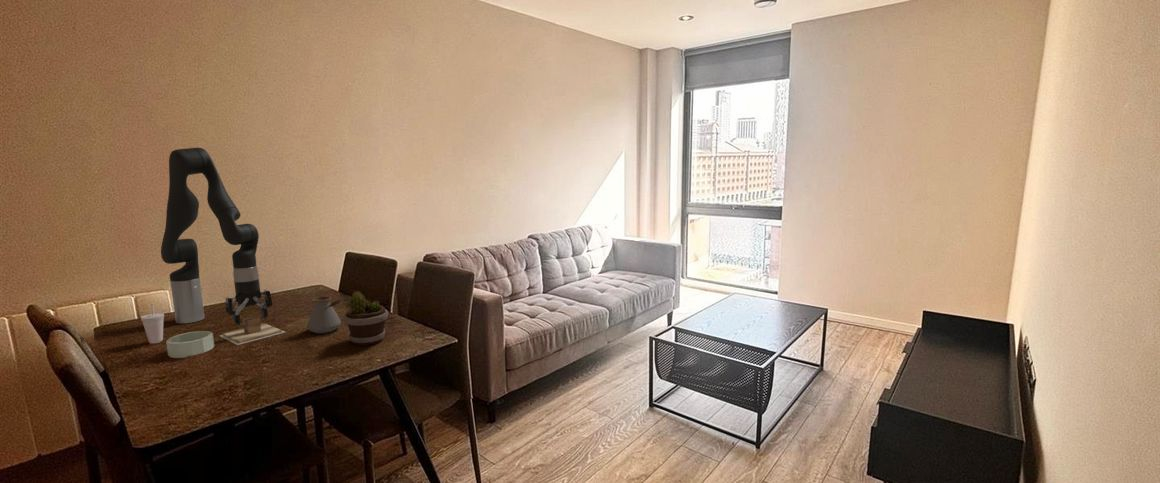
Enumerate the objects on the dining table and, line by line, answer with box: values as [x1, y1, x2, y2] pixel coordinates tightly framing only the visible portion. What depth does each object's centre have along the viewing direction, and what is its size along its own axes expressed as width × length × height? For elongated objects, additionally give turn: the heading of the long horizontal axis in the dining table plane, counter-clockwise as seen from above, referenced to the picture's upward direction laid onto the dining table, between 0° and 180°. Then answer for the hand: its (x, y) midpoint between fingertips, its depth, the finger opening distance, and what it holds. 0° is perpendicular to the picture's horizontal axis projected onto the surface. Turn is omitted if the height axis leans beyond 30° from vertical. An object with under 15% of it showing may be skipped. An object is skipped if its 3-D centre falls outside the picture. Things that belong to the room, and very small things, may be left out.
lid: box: [222, 316, 283, 344], centre depth 182 cm, size 14×14×6 cm
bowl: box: [165, 330, 215, 359], centre depth 166 cm, size 12×12×5 cm
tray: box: [219, 330, 286, 346], centre depth 182 cm, size 16×16×1 cm
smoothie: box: [140, 303, 165, 345], centre depth 174 cm, size 6×6×14 cm
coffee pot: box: [306, 295, 344, 334], centre depth 182 cm, size 21×12×15 cm, turn 49°
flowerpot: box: [342, 290, 389, 346], centre depth 175 cm, size 14×15×20 cm
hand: (251, 321), depth 181 cm, fingers open, 8 cm apart
